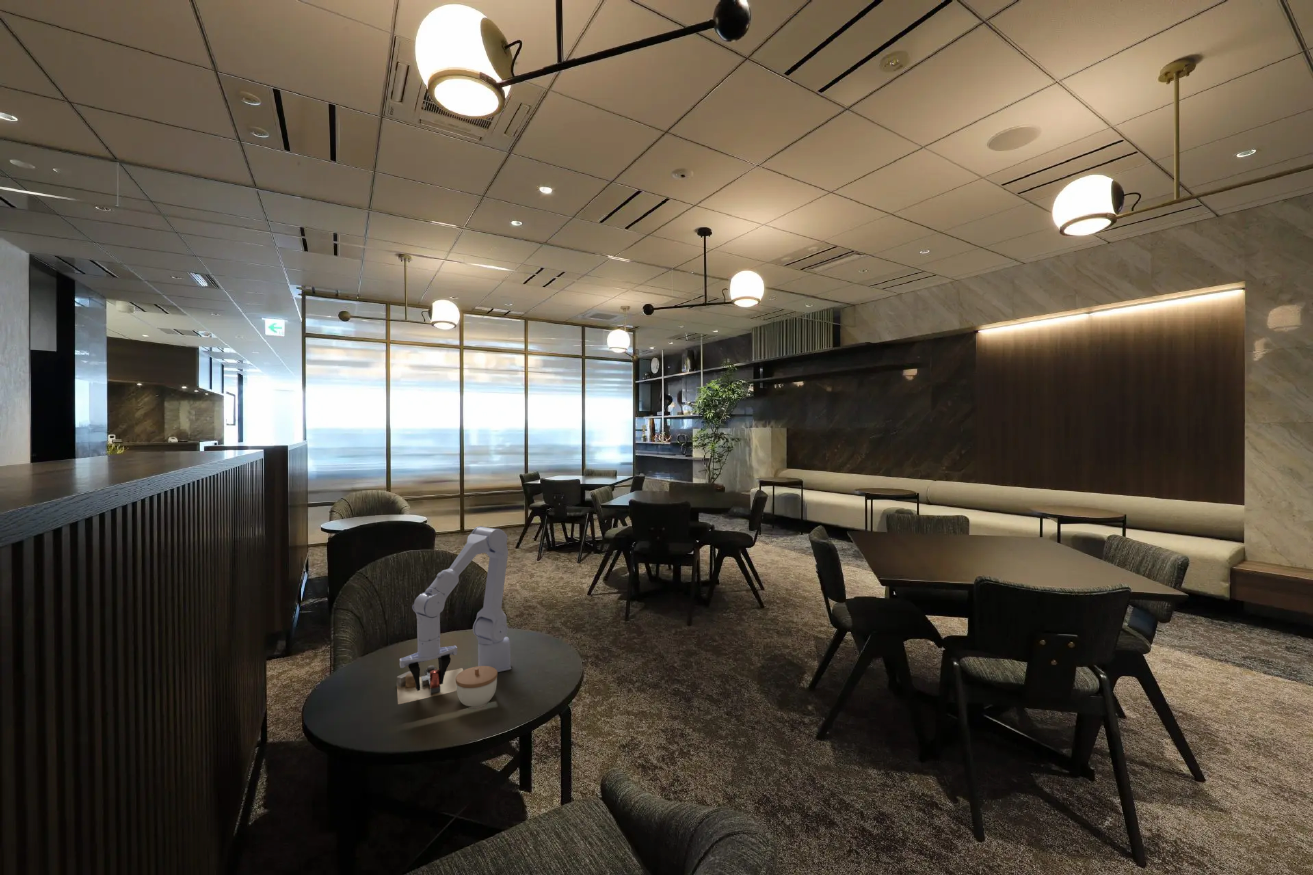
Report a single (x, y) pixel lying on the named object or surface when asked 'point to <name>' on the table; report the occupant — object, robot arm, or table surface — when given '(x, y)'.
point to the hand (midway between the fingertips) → (429, 685)
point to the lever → (431, 680)
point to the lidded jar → (476, 686)
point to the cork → (410, 681)
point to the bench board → (425, 687)
